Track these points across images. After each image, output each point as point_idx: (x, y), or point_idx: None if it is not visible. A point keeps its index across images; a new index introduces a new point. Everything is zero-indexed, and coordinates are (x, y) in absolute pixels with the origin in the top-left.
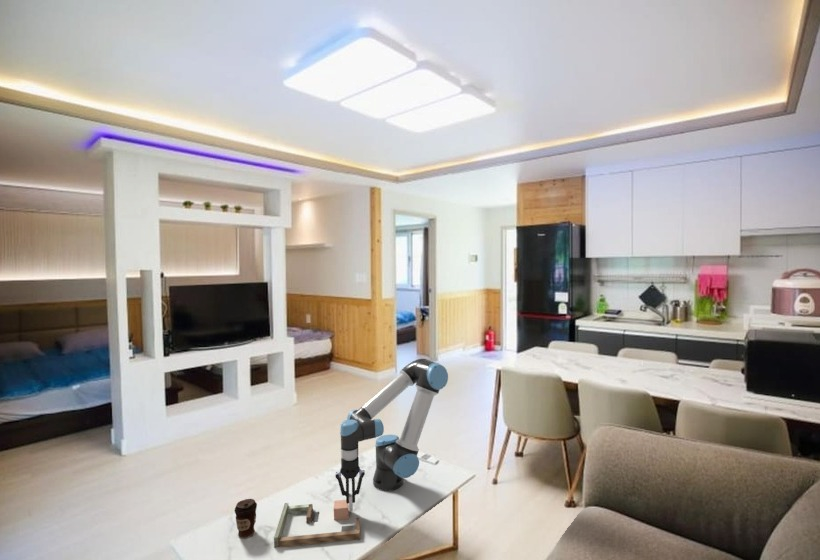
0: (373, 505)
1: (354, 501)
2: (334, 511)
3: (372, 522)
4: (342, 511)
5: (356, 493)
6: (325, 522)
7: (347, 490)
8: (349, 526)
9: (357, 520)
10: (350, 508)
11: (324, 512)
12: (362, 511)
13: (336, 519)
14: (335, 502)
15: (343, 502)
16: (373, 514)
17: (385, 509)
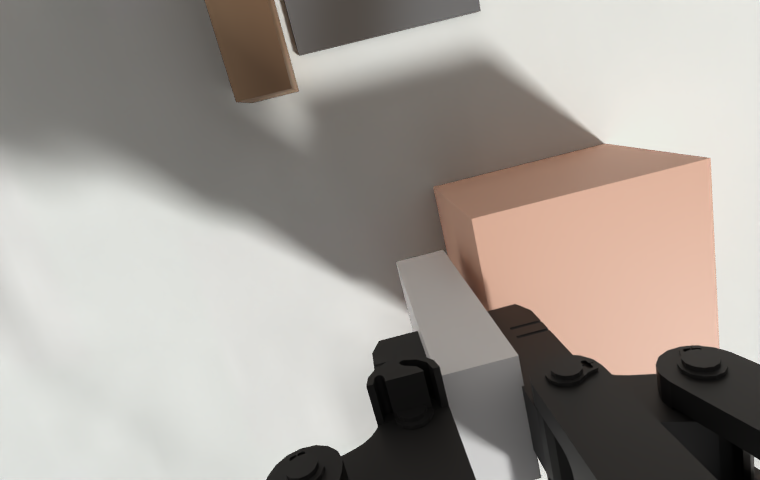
0: (190, 460)
1: (383, 351)
2: (667, 156)
3: (83, 139)
4: (540, 185)
5: (336, 458)
6: (701, 83)
7: (646, 474)
8: (373, 12)
9: (247, 18)
10: (431, 268)
11: (738, 271)
12: (290, 341)
13: (576, 152)
14: (701, 332)
15: (574, 348)
16: (130, 301)
17: (10, 411)
